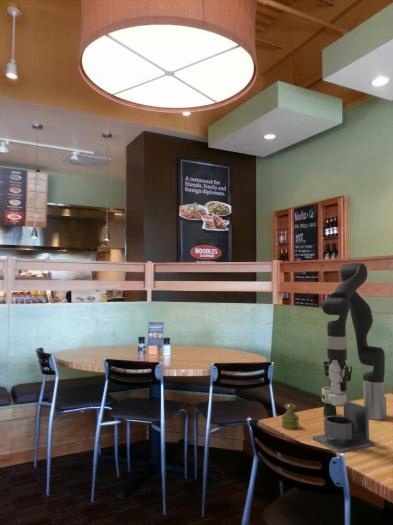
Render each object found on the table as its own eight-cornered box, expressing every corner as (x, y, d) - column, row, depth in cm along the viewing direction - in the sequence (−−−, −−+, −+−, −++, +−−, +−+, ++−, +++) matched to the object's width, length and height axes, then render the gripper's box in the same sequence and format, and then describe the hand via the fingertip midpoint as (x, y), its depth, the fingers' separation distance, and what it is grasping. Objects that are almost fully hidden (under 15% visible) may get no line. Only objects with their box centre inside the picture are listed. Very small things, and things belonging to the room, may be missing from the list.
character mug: (322, 412, 205) (321, 385, 205) (337, 413, 202) (336, 386, 203) (322, 419, 194) (321, 391, 195) (338, 420, 192) (337, 392, 193)
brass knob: (286, 422, 190) (286, 400, 190) (301, 426, 185) (301, 403, 185) (278, 427, 184) (278, 404, 184) (294, 430, 179) (293, 407, 180)
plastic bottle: (348, 408, 162) (347, 357, 163) (330, 407, 163) (329, 356, 164) (345, 403, 168) (344, 354, 169) (328, 403, 169) (327, 353, 170)
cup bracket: (346, 432, 176) (345, 399, 177) (374, 445, 162) (373, 408, 163) (312, 439, 169) (312, 404, 170) (339, 452, 155) (338, 414, 156)
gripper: (357, 349, 162) (358, 392, 161) (331, 344, 175) (332, 384, 174) (342, 350, 159) (343, 395, 158) (317, 345, 172) (318, 386, 171)
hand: (337, 389), depth 166 cm, fingers closed on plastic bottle, 5 cm apart
